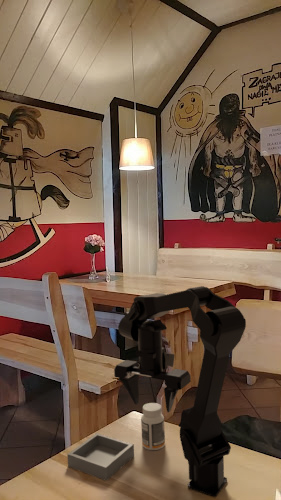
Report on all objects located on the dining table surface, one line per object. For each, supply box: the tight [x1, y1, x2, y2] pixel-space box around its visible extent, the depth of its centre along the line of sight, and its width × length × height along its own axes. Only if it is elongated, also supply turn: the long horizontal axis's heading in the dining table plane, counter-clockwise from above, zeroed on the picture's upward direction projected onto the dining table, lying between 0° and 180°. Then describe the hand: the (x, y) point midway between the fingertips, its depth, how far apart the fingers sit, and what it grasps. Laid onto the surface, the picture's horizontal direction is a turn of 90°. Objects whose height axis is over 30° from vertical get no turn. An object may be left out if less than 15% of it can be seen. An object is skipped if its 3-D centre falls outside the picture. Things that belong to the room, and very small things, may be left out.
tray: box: [67, 432, 135, 482], centre depth 105 cm, size 11×11×3 cm
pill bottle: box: [140, 402, 166, 451], centre depth 111 cm, size 6×6×10 cm
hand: (152, 407), depth 110 cm, fingers open, 9 cm apart
